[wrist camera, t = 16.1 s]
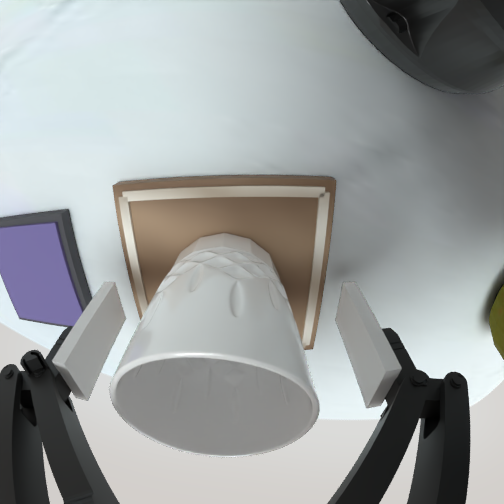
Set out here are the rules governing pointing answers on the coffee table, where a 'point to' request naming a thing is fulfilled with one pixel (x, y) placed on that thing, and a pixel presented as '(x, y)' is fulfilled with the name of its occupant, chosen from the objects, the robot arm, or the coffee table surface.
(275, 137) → the coffee table surface
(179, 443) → the white cup
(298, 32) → the coffee table surface
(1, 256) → the ink pad
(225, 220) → the brown square coaster
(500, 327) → the apple
